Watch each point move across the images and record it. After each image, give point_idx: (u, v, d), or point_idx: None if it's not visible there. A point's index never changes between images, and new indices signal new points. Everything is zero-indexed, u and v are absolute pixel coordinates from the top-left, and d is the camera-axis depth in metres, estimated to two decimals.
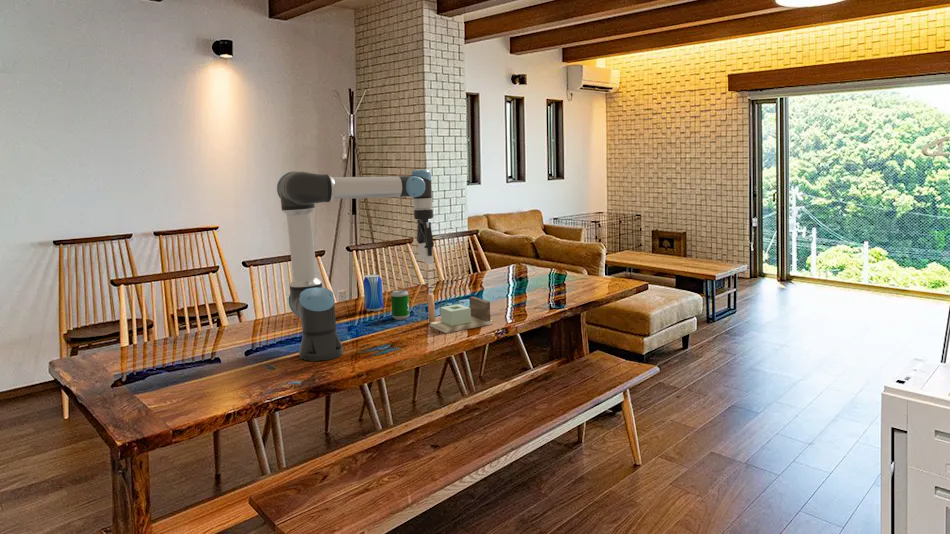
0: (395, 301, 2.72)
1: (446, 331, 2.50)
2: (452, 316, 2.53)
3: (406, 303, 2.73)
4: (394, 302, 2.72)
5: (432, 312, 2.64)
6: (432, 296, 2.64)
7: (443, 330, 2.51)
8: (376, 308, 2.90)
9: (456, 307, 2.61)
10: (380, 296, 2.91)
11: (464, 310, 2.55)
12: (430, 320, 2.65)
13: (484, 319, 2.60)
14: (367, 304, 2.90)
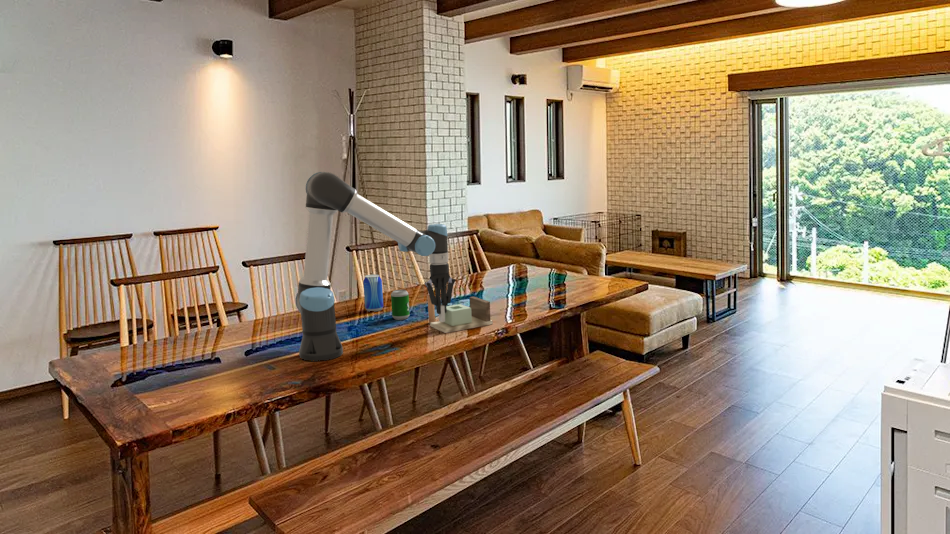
0: (395, 301, 2.72)
1: (446, 331, 2.50)
2: (453, 316, 2.53)
3: (406, 303, 2.73)
4: (394, 302, 2.72)
5: (432, 312, 2.64)
6: None
7: (443, 330, 2.51)
8: (376, 308, 2.90)
9: (457, 307, 2.61)
10: (380, 296, 2.91)
11: (465, 310, 2.56)
12: (430, 320, 2.65)
13: (484, 319, 2.60)
14: (367, 304, 2.90)
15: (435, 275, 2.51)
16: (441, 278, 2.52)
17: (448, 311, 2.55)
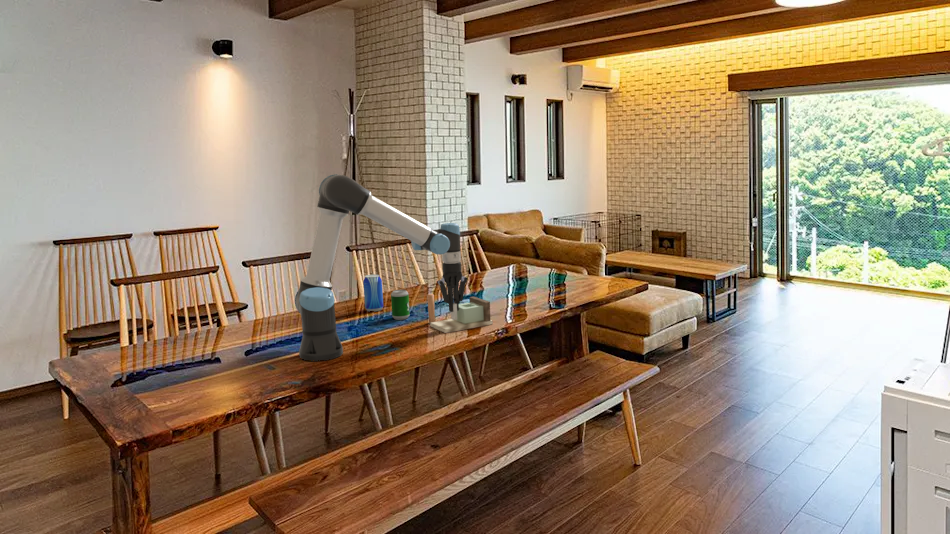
0: (395, 301, 2.72)
1: (446, 331, 2.50)
2: (465, 314, 2.56)
3: (406, 303, 2.73)
4: (394, 302, 2.72)
5: (432, 312, 2.64)
6: (432, 296, 2.64)
7: (443, 330, 2.51)
8: (376, 308, 2.90)
9: (469, 305, 2.64)
10: (380, 296, 2.91)
11: (477, 308, 2.58)
12: (430, 320, 2.65)
13: (484, 319, 2.60)
14: (367, 304, 2.90)
15: (448, 273, 2.53)
16: (454, 276, 2.55)
17: (460, 309, 2.58)
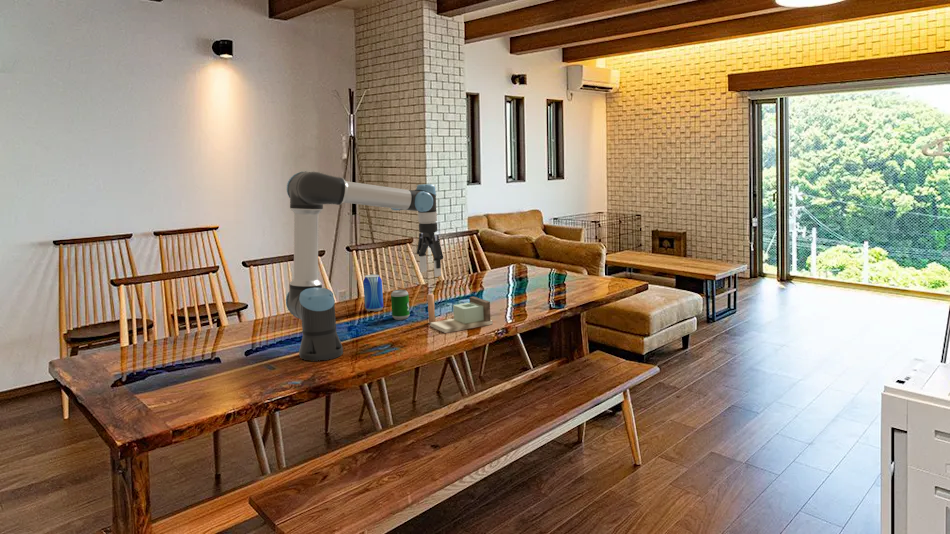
0: (395, 301, 2.72)
1: (446, 331, 2.50)
2: (465, 314, 2.56)
3: (406, 303, 2.73)
4: (394, 302, 2.72)
5: (432, 312, 2.64)
6: (432, 296, 2.64)
7: (443, 330, 2.51)
8: (376, 308, 2.90)
9: (469, 305, 2.64)
10: (380, 296, 2.91)
11: (477, 308, 2.58)
12: (430, 320, 2.65)
13: (484, 319, 2.60)
14: (367, 304, 2.90)
15: None
16: None
17: (460, 309, 2.58)
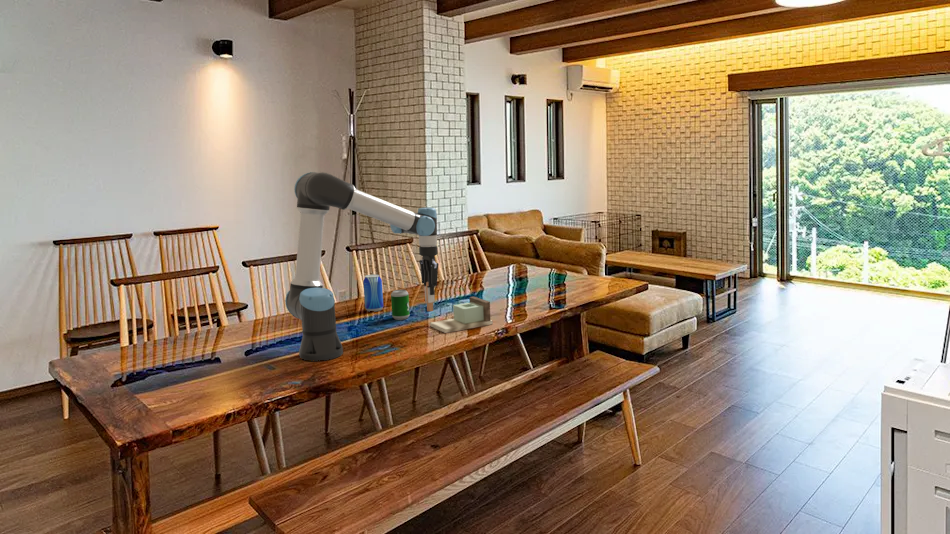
0: (395, 301, 2.72)
1: (446, 331, 2.50)
2: (465, 314, 2.56)
3: (406, 303, 2.73)
4: (394, 302, 2.72)
5: None
6: None
7: (443, 330, 2.51)
8: (376, 308, 2.90)
9: (469, 305, 2.64)
10: (380, 296, 2.91)
11: (477, 308, 2.58)
12: (428, 308, 2.64)
13: (484, 319, 2.60)
14: (367, 304, 2.90)
15: None
16: None
17: (460, 309, 2.58)
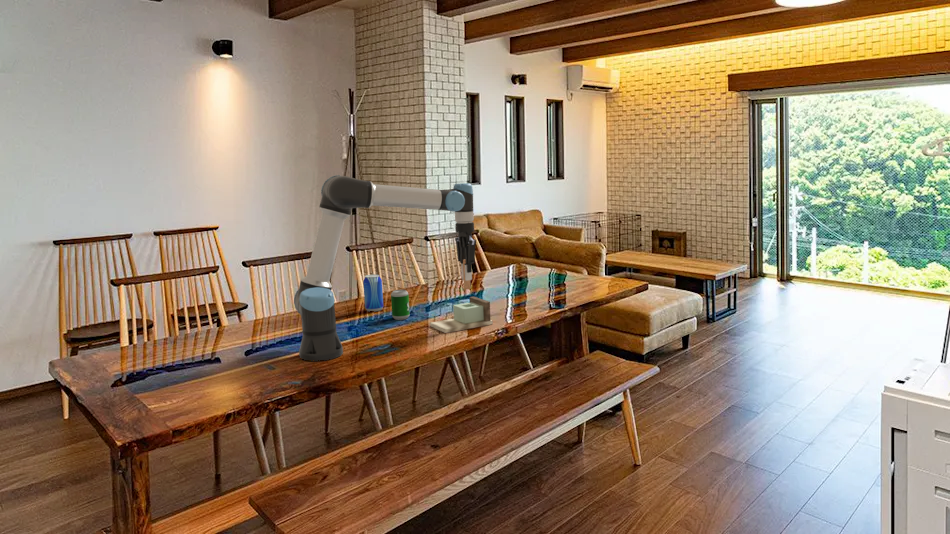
0: (395, 301, 2.72)
1: (446, 331, 2.50)
2: (465, 314, 2.56)
3: (406, 303, 2.73)
4: (394, 302, 2.72)
5: None
6: None
7: (443, 330, 2.51)
8: (376, 308, 2.90)
9: (469, 305, 2.64)
10: (380, 296, 2.91)
11: (477, 308, 2.58)
12: (466, 286, 2.59)
13: (484, 319, 2.60)
14: (367, 304, 2.90)
15: None
16: None
17: (460, 309, 2.58)
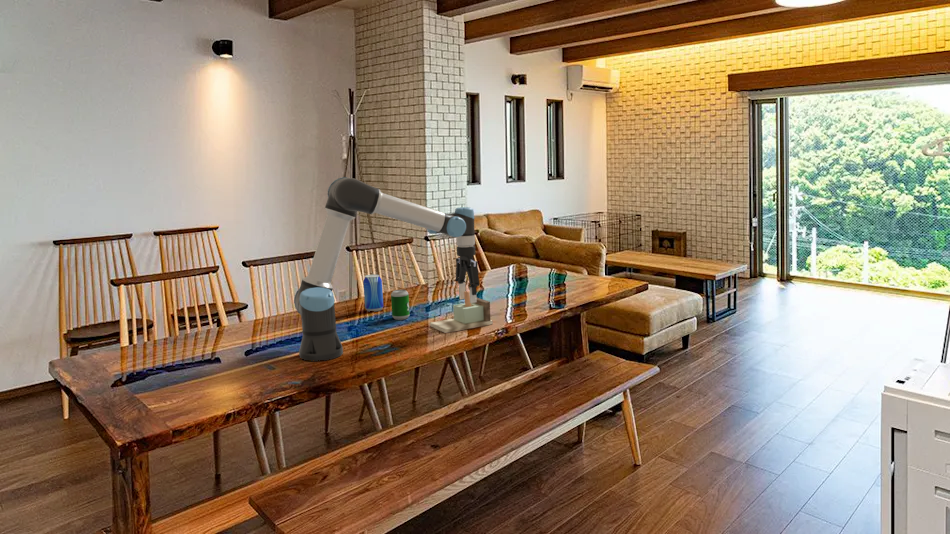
0: (395, 301, 2.72)
1: (446, 331, 2.50)
2: (465, 314, 2.56)
3: (406, 303, 2.73)
4: (394, 302, 2.72)
5: None
6: (469, 293, 2.60)
7: (443, 330, 2.51)
8: (376, 308, 2.90)
9: None
10: (380, 296, 2.91)
11: (477, 308, 2.58)
12: None
13: (484, 319, 2.60)
14: (367, 304, 2.90)
15: None
16: None
17: (460, 309, 2.58)
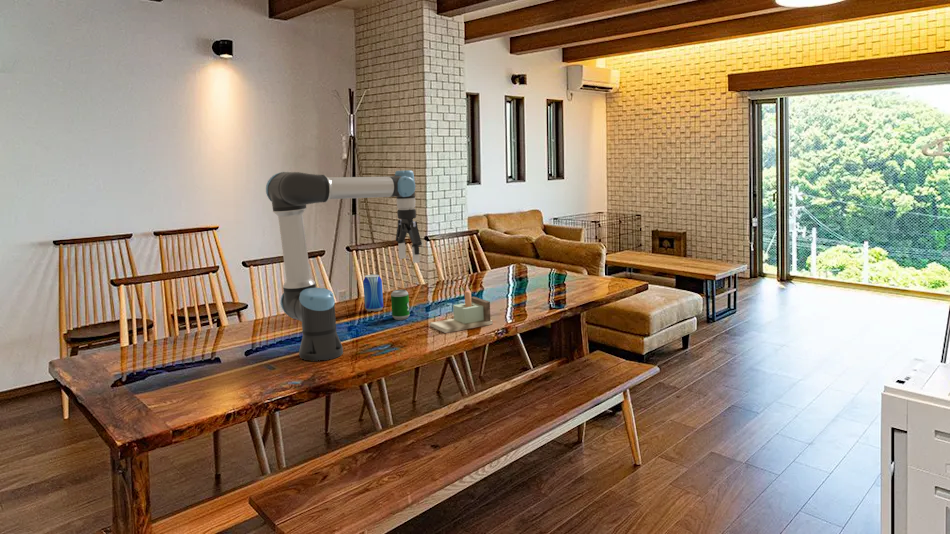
0: (395, 301, 2.72)
1: (446, 331, 2.50)
2: (465, 314, 2.56)
3: (406, 303, 2.73)
4: (394, 302, 2.72)
5: None
6: (469, 293, 2.60)
7: (443, 330, 2.51)
8: (376, 308, 2.90)
9: None
10: (380, 296, 2.91)
11: (477, 308, 2.58)
12: None
13: (484, 319, 2.60)
14: (367, 304, 2.90)
15: None
16: None
17: (460, 309, 2.58)
